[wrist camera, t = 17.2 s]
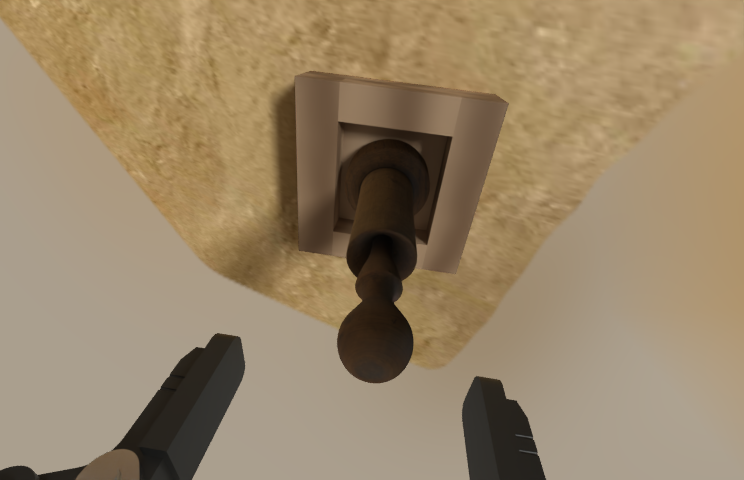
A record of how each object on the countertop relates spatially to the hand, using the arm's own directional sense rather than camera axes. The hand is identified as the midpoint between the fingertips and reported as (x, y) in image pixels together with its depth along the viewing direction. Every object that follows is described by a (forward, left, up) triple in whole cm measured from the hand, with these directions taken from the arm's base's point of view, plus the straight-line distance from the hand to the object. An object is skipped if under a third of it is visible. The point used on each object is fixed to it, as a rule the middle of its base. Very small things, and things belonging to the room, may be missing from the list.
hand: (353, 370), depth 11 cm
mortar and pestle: (0, 0, -19) cm, 19 cm away
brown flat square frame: (0, 0, -21) cm, 21 cm away
